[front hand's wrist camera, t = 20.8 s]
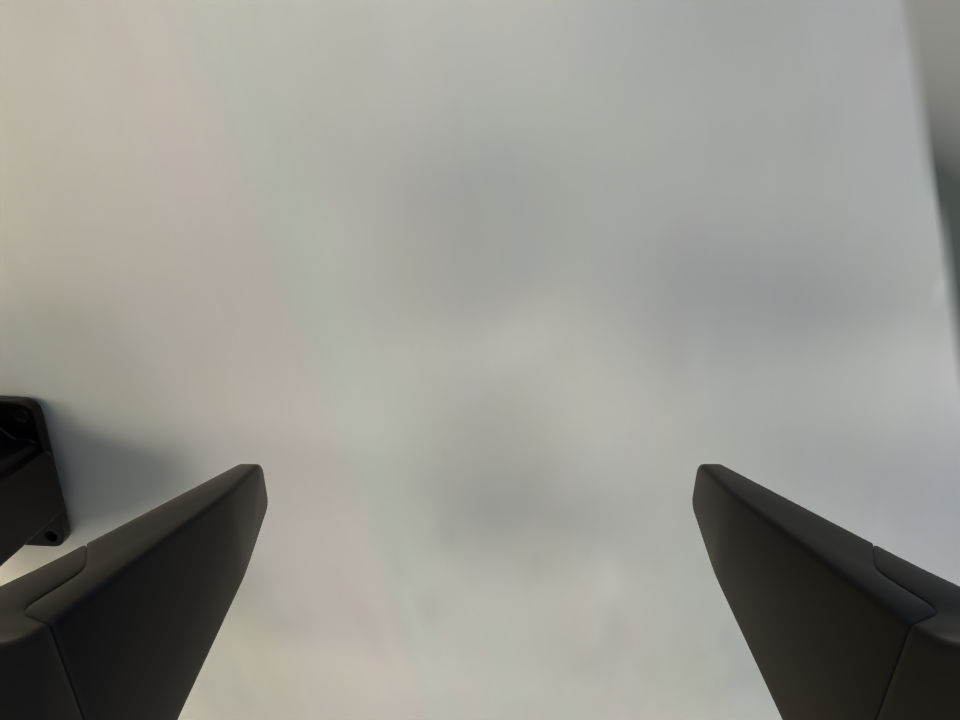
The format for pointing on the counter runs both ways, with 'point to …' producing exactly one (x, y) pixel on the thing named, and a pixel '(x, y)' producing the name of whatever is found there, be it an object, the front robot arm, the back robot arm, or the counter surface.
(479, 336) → the counter surface
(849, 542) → the front robot arm
